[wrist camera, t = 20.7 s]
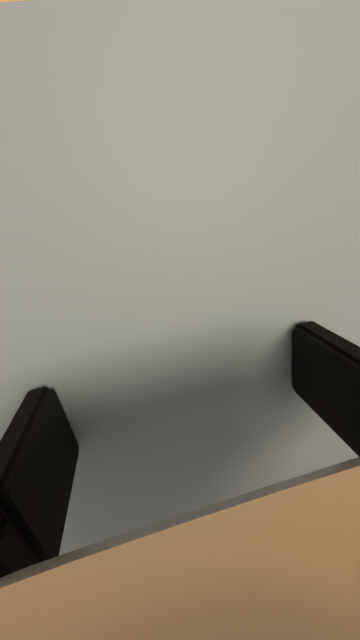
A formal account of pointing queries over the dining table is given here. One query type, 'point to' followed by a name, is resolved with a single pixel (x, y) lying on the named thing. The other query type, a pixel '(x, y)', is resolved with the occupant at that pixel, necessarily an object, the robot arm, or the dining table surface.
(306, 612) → the robot arm
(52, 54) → the cover
